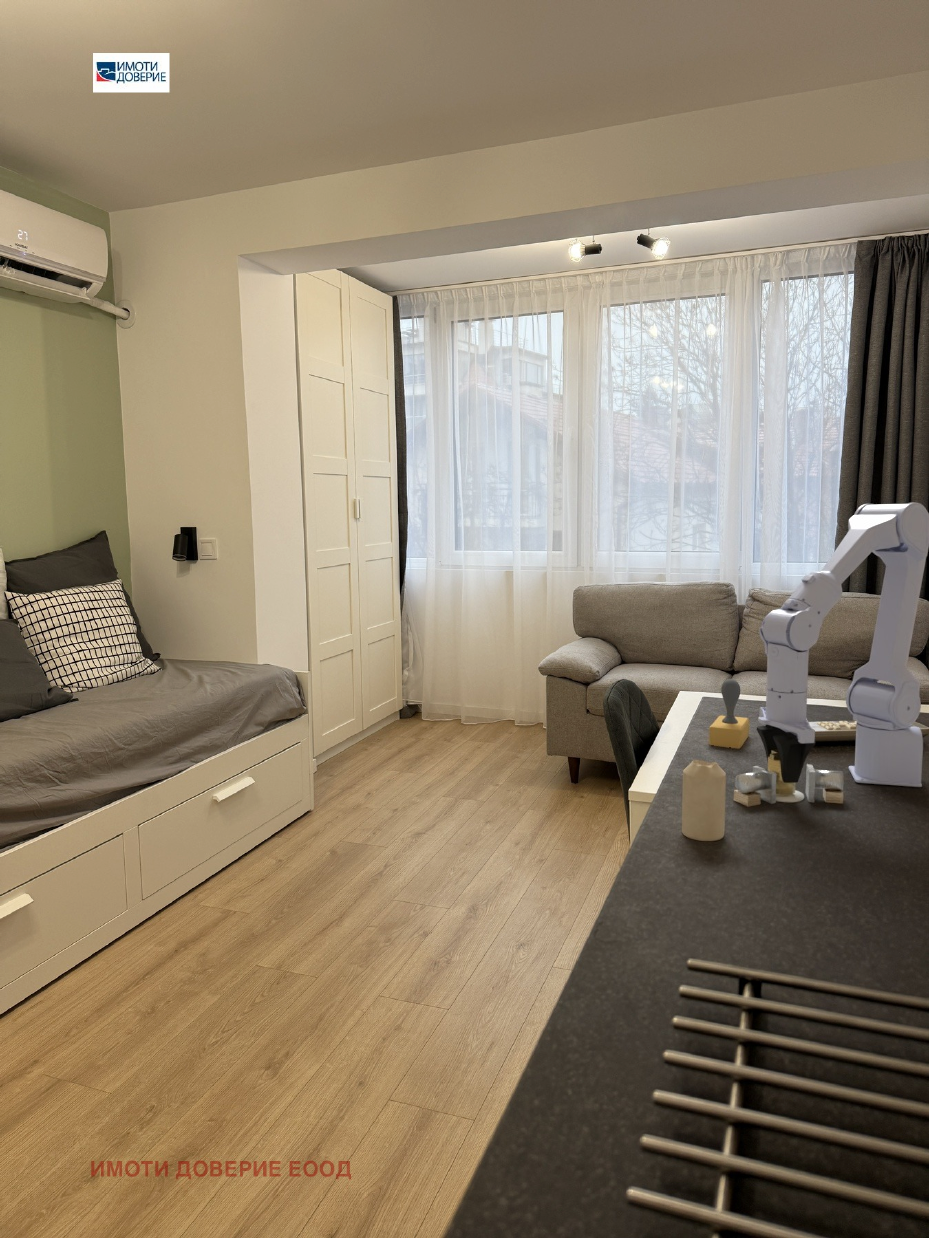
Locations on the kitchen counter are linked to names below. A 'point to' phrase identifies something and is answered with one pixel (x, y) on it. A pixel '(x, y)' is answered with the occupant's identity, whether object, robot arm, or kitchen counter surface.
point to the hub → (779, 774)
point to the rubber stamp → (729, 720)
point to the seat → (790, 797)
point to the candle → (703, 801)
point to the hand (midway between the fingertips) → (783, 777)
